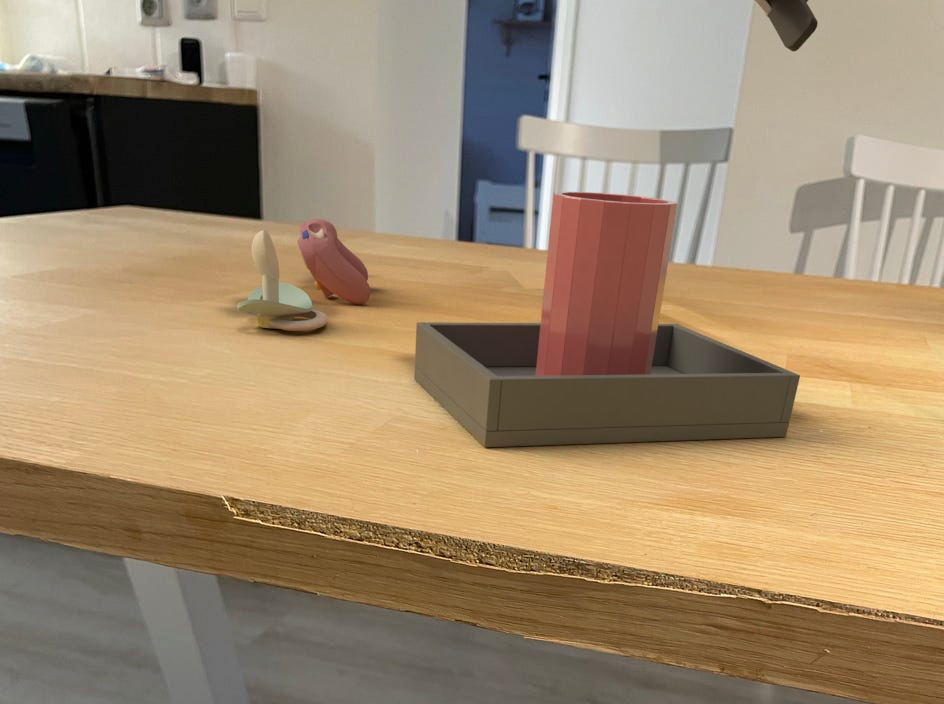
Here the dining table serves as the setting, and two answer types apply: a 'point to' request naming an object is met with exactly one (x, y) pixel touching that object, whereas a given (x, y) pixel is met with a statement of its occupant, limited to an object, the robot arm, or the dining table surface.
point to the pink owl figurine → (332, 262)
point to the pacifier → (277, 294)
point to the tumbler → (603, 283)
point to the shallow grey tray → (600, 389)
